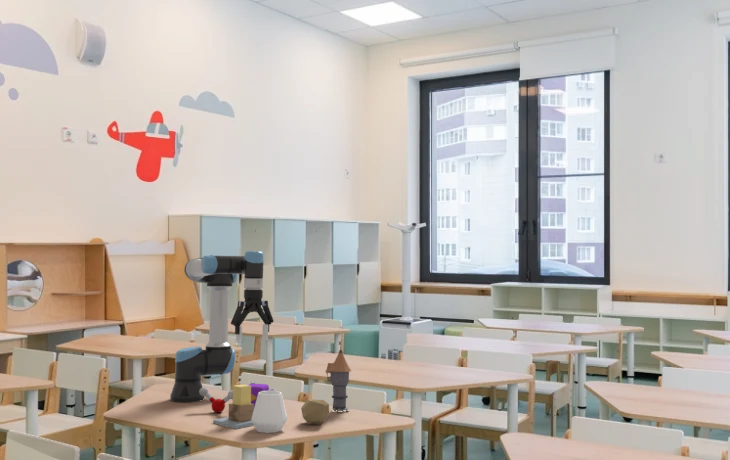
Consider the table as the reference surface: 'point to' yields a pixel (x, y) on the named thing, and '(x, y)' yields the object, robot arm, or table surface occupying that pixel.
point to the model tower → (339, 381)
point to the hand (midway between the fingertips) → (252, 341)
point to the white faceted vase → (269, 412)
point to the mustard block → (241, 394)
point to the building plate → (232, 423)
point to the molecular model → (217, 404)
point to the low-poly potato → (314, 411)
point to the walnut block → (240, 412)
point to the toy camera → (257, 390)
